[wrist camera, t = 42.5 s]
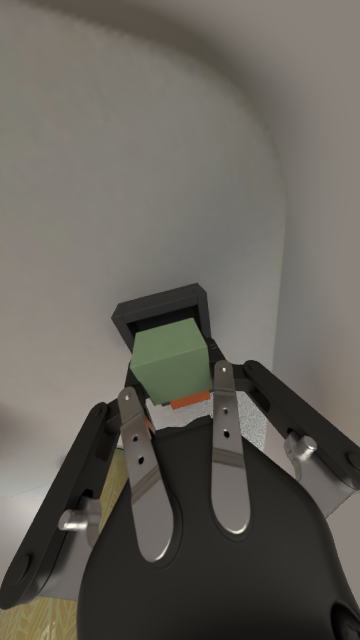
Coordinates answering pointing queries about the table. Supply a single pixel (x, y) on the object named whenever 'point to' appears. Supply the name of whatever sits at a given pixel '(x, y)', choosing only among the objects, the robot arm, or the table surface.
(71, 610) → the vase
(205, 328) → the frame
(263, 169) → the table surface
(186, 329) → the green square block
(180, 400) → the terracotta cube
